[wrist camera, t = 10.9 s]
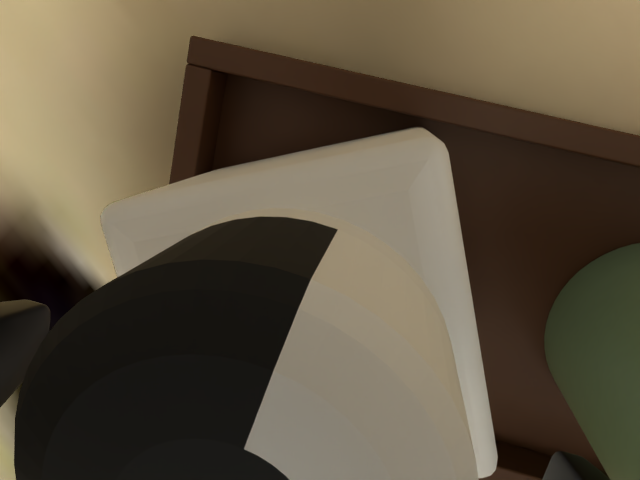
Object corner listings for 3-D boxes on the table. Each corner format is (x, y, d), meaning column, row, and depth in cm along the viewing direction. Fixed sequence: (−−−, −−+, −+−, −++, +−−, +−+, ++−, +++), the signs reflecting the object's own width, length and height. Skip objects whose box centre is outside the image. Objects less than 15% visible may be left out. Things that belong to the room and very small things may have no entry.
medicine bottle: (262, 363, 19) (40, 765, 7) (212, 169, 17) (-166, 286, 6) (463, 337, 17) (584, 783, 6) (427, 123, 16) (495, 157, 4)
